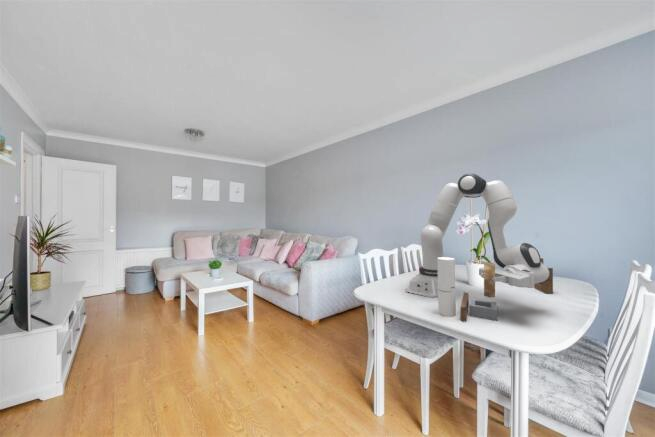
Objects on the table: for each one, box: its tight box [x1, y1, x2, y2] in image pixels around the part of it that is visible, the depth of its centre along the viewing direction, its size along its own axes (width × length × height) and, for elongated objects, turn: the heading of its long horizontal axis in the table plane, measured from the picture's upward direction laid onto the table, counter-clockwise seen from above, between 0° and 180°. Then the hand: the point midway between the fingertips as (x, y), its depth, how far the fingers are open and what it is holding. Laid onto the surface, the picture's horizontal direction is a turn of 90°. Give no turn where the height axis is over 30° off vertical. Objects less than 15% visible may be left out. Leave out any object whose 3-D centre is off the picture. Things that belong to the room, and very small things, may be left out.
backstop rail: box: [460, 291, 470, 322], centre depth 113 cm, size 2×22×6 cm, turn 148°
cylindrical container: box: [437, 256, 457, 317], centre depth 112 cm, size 7×7×25 cm
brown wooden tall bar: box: [483, 262, 496, 299], centre depth 106 cm, size 4×4×14 cm
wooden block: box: [533, 257, 554, 295], centre depth 140 cm, size 4×11×18 cm, turn 167°
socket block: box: [469, 298, 498, 322], centre depth 110 cm, size 10×10×5 cm
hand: (487, 277), depth 106 cm, fingers closed on brown wooden tall bar, 4 cm apart
